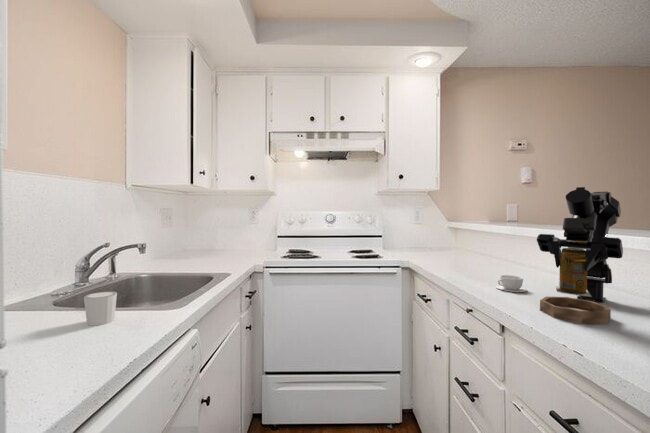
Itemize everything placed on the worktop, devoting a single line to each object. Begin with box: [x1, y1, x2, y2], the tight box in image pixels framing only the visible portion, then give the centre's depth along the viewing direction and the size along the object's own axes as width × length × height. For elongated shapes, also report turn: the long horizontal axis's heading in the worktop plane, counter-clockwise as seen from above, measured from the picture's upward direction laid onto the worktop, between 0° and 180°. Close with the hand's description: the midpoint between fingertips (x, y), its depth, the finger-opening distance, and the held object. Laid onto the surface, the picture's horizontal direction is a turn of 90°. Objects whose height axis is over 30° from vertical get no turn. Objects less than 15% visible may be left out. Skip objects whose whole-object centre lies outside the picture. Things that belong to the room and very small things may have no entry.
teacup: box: [495, 274, 528, 293], centre depth 114 cm, size 10×10×5 cm
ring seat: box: [539, 296, 612, 326], centre depth 86 cm, size 14×14×3 cm
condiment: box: [555, 247, 592, 297], centre depth 86 cm, size 7×8×12 cm
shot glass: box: [83, 291, 118, 327], centre depth 79 cm, size 7×7×7 cm
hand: (571, 268), depth 85 cm, fingers closed on condiment, 6 cm apart
